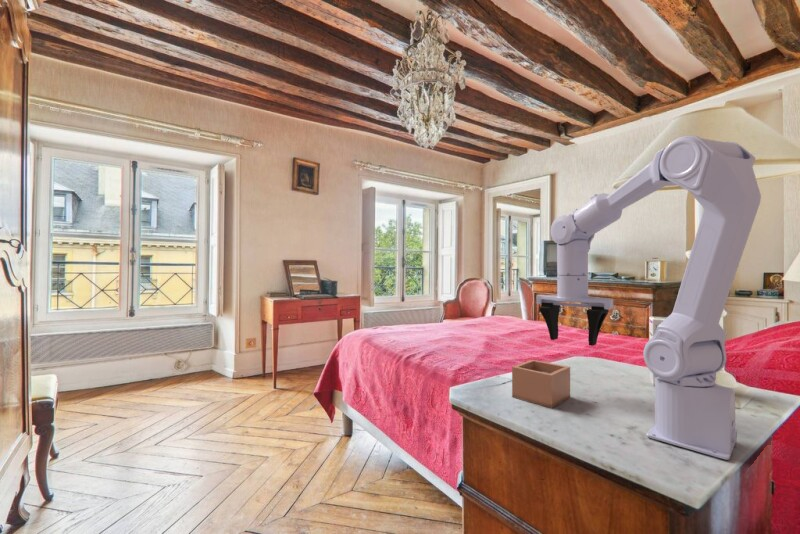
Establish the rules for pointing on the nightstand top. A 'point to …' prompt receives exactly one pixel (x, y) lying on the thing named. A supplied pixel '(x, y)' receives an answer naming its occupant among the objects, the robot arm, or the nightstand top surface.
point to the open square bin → (541, 383)
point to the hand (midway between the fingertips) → (572, 341)
